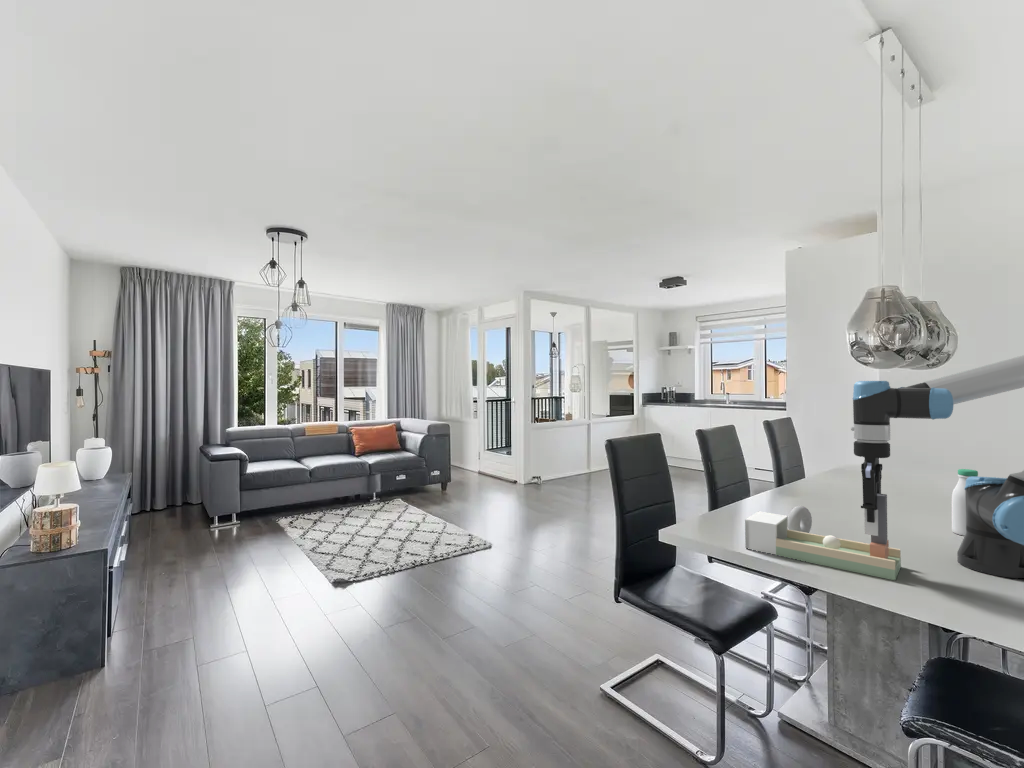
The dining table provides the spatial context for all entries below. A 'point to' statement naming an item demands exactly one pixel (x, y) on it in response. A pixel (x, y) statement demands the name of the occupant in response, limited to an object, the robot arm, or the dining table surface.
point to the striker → (880, 530)
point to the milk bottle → (960, 502)
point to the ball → (831, 542)
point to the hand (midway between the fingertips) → (872, 532)
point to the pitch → (816, 547)
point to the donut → (800, 519)
